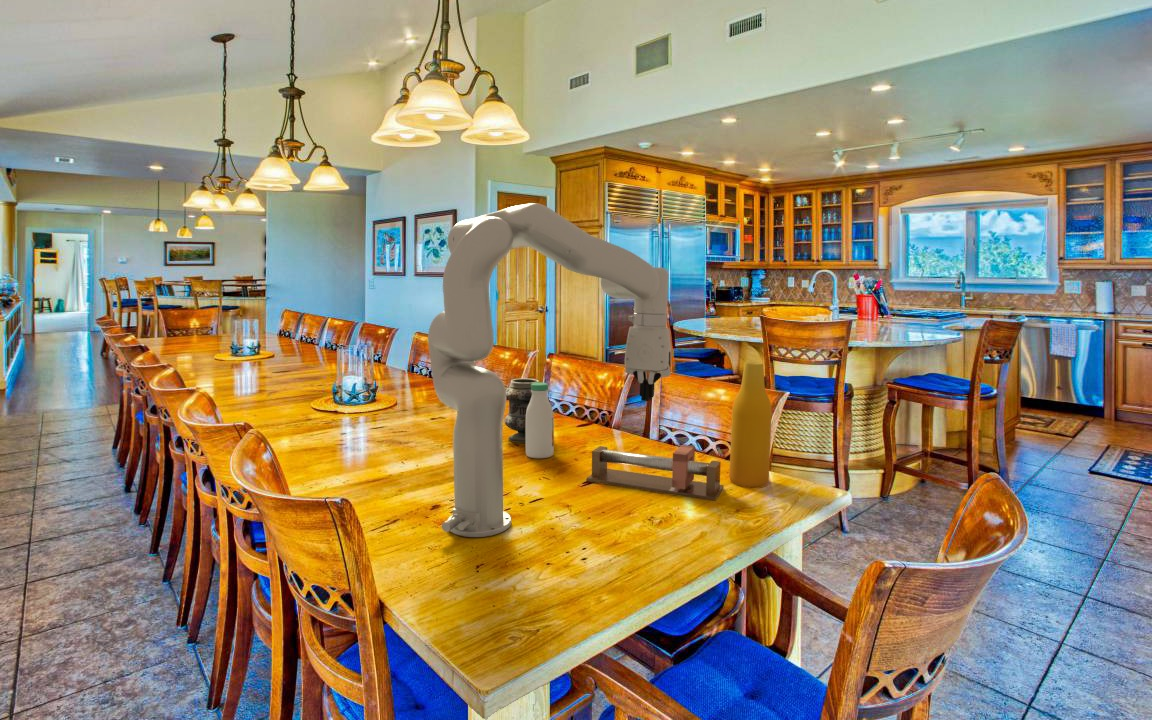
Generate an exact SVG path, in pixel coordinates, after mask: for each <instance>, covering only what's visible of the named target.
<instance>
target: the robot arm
mask: <svg viewBox="0 0 1152 720" xmlns="http://www.w3.org/2000/svg"><path fill="white" fill-rule="evenodd" d="M526 247H527V248H531V249H533V250H535V251H536V252H538V253H540V254H541V255H543V256H544V257H547V259H549V260H551V261H553V262H555V263H556V264H558V265H560V266H562V267H563V268H565V270H568V271H569V272H570V271H571V272H573V273H577V274H579V275H585V276H590V277H595V278H600V286H601V289H602V291H603V293H604V294H606V295H607V296H609V297H611V298H613V299H619V300H634V302H633V304H634V306H633V313H632V314H631V315H630V314H629V315H628V317H627V320H628V321H627V322H632V325H633V326H629V328H628V333H627V337H626V345H625V350H624V351H625V352H624V367H625V373H627V374H628V375H631V376H634V377H635V378H636V379H637V382H638V383H639V397H640V400H641V401H642V402H643V401H646V402H650V401H651V400H653V398H654V397H655V384H656V382H657V381H658V380H659V379H662V378H668V377H670V376H671V374H672V373H671V367H672V366H671V365H672V343H671V334H670V327H669V328H668V327H667V322H668V321H667V319H668V317H667V316H668V295H669V294H668V293H669V280H670V279H669V271H668V270H667V268H664V267H658V266H657V267H656V266H655V267H654V266H653V265H651V264H650V263H649V262H647V261H646V260H644V258H641V257H640V256H639V255H637V254H635V253H634V252H632V251H630V250H628V249H626V248H624V247H621V246H619V245H616V244H614V243H611V242H609V241H606V240H604V239H602V238H599V237H597V236H594V235H591V234H589V233H588V232H587V231H584V230H583V229H582V228H580V227H578V225H575V224H574V223H573V222H571V221H570V220H568V219H566V218H564V216H562V215H560V214H558V212H555V210H553V209H551V208H550V207H548V206H547V205H544V204H541V203H537V202H536V203H535V202H534V203H533V202H530V203H525V204H519V205H514V206H510V207H507V208H503V209H500V210H497V211H494V212H490V213H487V214H483V215H479V216H475V217H472V218H468V219H464V220H461V221H458V222H457V223H455V225H453V227H452V228H451V229H450V231H449V232H448V236H447V248H448V250H449V252H450V255H449V258H448V259H447V261H446V264H445V267H444V271H443V277H442V292H443V293H442V295H443V307H444V310H443V311H441V312H439V313H438V314H437V315H435V317H434V318H433V319H432V321H431V323H430V326H429V329H428V334H427V343H428V353H429V360H430V368H431V369H430V370H431V377H432V381H433V382H432V383H433V388H434V392H435V394H436V396H437V398H438V400H439V401H440V402H441V403H442V404H443V405H445V406H446V407H448V408H450V409H453V410H455V411H456V417H455V423H454V427H453V437H452V451H453V452H452V453H453V487H454V491H453V492H454V508H452V515H451V516H449V517H448V518H447V520H445V521H443V522H442V524H441V529H442V531H443V532H446V533H448V532H451V533H452V534H454V535H456V536H460V537H466V538H483V537H491V536H494V535H495V536H496V535H498V534H501V533H503V532H506V530H508V529H509V528H510V527H511V526H512V517H511V515H510V514H509V513H508V512H507V511H504V458H503V457H504V456H503V455H504V453H503V451H504V450H503V449H504V448H503V432H504V431H503V430H504V427H503V426H504V419H505V417H504V416H505V411H506V405H507V397H506V390H507V388H506V386H505V383H504V382H503V380H502V379H501V378H500V376H499V375H497V374H496V373H495V372H494V371H492V370H490V369H487V368H484V367H480V366H477V365H476V362H479V361H482V360H483V361H484V360H485V359H486V358H487V357H488V356H489V355H490V354H491V352H492V351H493V348H494V344H495V342H494V341H495V340H494V339H495V338H494V336H495V335H494V328H493V319H492V311H491V309H492V307H491V301H490V281H491V277H492V274H493V272H494V270H495V269H496V267H497V266H498V264H499V263H500V262H501V261H502V260H503V259H504V258H505V257H506V256H507V255H508V254H509V252H510V251H511V250H514V249H517V248H526ZM647 372H649V374H648V377H647Z"/></svg>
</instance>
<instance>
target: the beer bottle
mask: <svg viewBox="0 0 1152 720" xmlns="http://www.w3.org/2000/svg"><path fill="white" fill-rule="evenodd" d="M741 378H742V379H741V386H740V389H739V391H738V393H737V394H736V397H735V398H734V401H733V403H732V408H731V427H730V429H731V430H730V453H729V470H728V471H729V472H728V476H729V481H730V482H731V483H732V484H733V485H736V486H738V487H743V488H744V487H745V488H752V489H753V488H755V489H757V488H762V487H765V486H767V485H768V483H769V481H770V480H769V479H770V459H771V458H770V457H771V456H770V453H771V435H772V434H771V433H772V416H773V410H772V409H773V408H772V403H771V400H770V398H769V396H768V394H767V391H766V386H765V385H766V384H765V372H764V362H760V361H745V362H744V366H743V372H742V377H741Z"/></svg>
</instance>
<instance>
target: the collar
mask: <svg viewBox="0 0 1152 720" xmlns="http://www.w3.org/2000/svg"><path fill="white" fill-rule="evenodd" d="M695 451H696V446H695V445H690V444H688V445H687V444H682V445H680V447H678V448H677V449H676V450H675V451H674V452H673V453H672V458H673V471H671V472H672V476H671V478H672V487H673V488H680V489H686V488H687V486H688V485H689V484H690V483H691V482H692V481H694V479H695V475H694V474H687V473H688V460H689V461H695V457H696V456H695V455H696V454H695V453H696V452H695Z"/></svg>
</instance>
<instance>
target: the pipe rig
mask: <svg viewBox="0 0 1152 720" xmlns="http://www.w3.org/2000/svg"><path fill="white" fill-rule="evenodd" d="M608 463H609V464H617V465H625V466H631V467H637V468H645V469H652V470H660V471H667V472H673V457H666V456H665V457H664V456H657V455H652V454H651V455H649V454H641V453H636V452H635V453H634V452H629V451H618V450H611V449H608V446H601V445H600V446H598V447H596V448H594V449H593V450H591V474H590V475H589V476H588V477H586V482H590V483H595V484H601V483H602V484H603V485H608V486H614V487H623V488H628V489H636V490H641V491H647V492H655V493H660V494H666V495H672V496H673V495H674V496H680V497H685V498H686V497H687V498H692V499H697V500H698V499H699V500H704V501H705V500H706V501H710V502H711V501H712V502H716V500H717V499H718V497H719V496H720V494H721V493H722V491H723V490H724V484H721V465H722V464H721V463H722V462H721V461H719V460H718V461H717V460H711V461H710V462H702V461H696V460H694V461H689V460H688V473H687V474H694V476H695V475H696V476H701V477H702V476H703V477H706V482H703V481H697V480H692V482H691V483H690V484H689V485H688V486H687V488H686V489H680V488H673V487H672V477H669V476H661V475H656V474H655V475H654V474H647V473H641V472H635V471H634V472H633V471H626V470H619V469H612V468H608Z"/></svg>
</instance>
